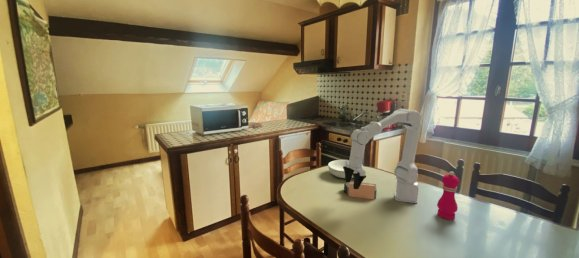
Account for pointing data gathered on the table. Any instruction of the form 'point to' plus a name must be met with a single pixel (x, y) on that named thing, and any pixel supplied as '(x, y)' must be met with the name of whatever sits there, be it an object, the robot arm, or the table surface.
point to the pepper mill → (448, 197)
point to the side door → (362, 191)
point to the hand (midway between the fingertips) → (351, 185)
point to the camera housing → (346, 186)
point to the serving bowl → (338, 168)
